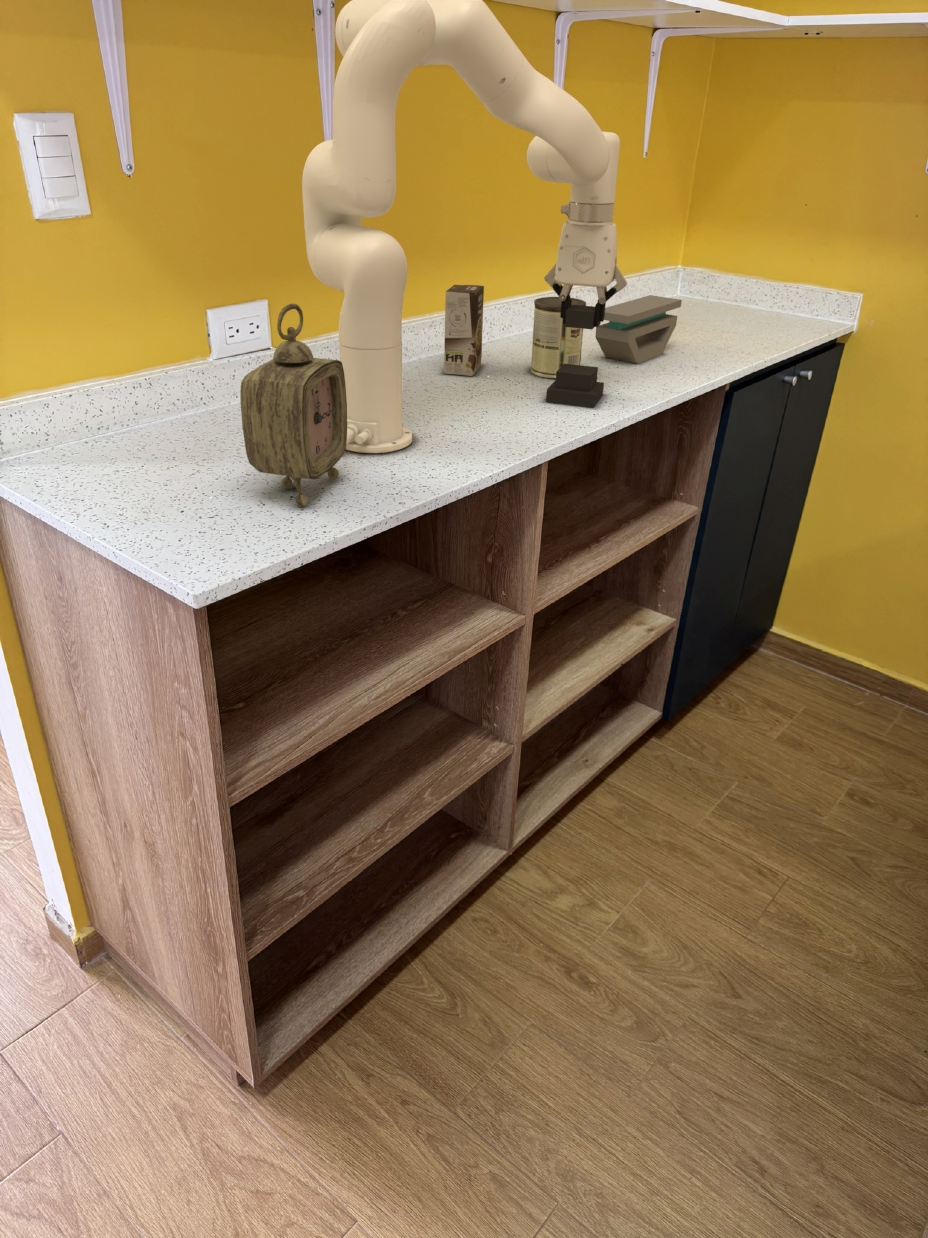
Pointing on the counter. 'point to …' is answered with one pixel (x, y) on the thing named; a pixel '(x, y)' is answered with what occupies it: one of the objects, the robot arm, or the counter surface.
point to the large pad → (575, 396)
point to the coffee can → (553, 338)
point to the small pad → (580, 317)
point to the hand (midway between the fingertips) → (581, 322)
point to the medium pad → (576, 377)
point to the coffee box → (463, 329)
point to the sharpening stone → (637, 328)
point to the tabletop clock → (295, 412)
